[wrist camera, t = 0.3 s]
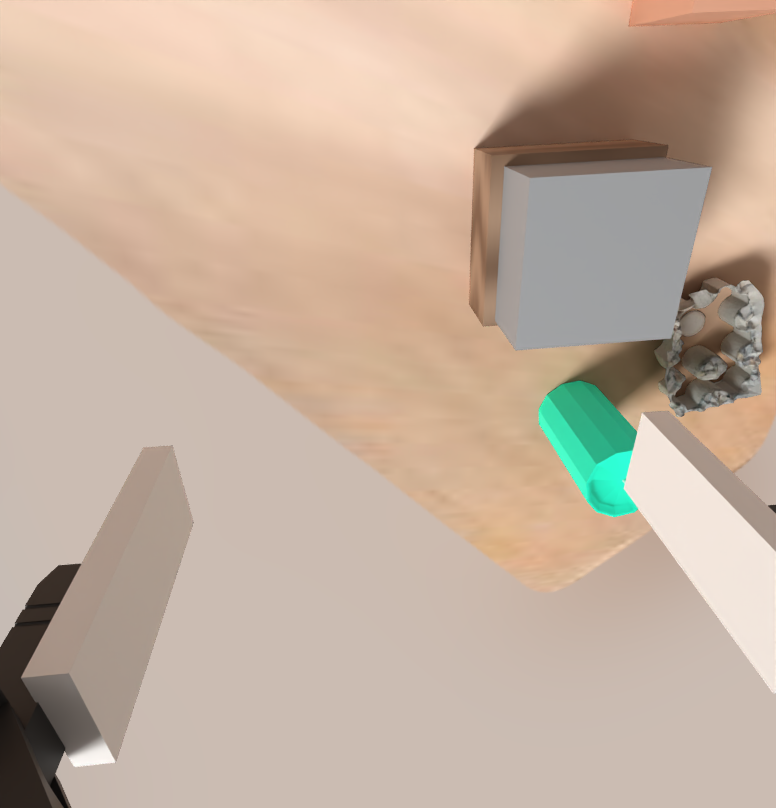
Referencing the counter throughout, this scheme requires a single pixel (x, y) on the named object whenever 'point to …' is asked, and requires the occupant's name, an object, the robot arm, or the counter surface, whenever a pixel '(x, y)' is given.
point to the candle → (591, 444)
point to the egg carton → (705, 364)
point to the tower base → (491, 192)
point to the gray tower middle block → (595, 250)
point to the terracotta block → (696, 11)
